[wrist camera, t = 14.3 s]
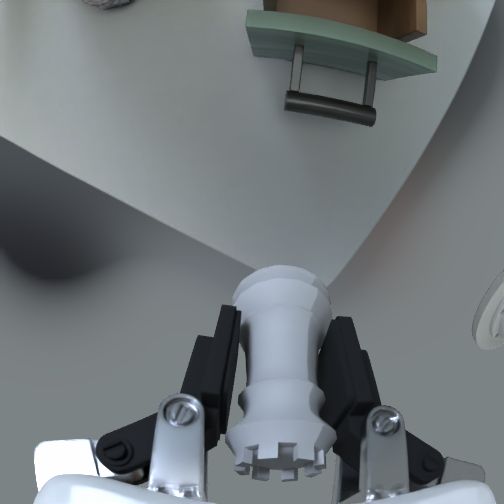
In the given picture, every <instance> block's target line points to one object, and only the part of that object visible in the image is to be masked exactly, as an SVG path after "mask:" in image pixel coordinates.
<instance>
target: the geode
mask: <svg viewBox="0 0 504 504" xmlns="http://www.w3.org/2000/svg"><path fill="white" fill-rule="evenodd" d="M83 1H84V2H85V3H88V4H90V5H95V6H97V7H99V8H101V9H103V10H105V9H109V8H111V7H113V6H119V5H125V4H128V3H129V1H130V0H83Z"/></svg>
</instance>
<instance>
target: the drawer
mask: <svg viewBox="0 0 504 504" xmlns="http://www.w3.org/2000/svg"><path fill="white" fill-rule="evenodd" d="M263 6H264V11H261V10H247V16H246V24H245V27H246V31H247V34H248V38H249V41H250V44H251V48H252V52H253V55H254V56H258V57H269V58H278V59H286V60H293V61H292V70H291V80H290V88H289V91H286V95H285V102H284V111H291V112H298V113H304V114H310V115H316V116H322V117H327V118H333V119H338V120H342V121H347V122H352V123H356V124H361V125H365V126H369V127H372V126H373V125H374V123H375V120H376V110H375V108H373V107H372V106H373V100H374V92H375V83H376V78H377V79H380V80H384V81H386V80H391V79H396V78H402V77H407V76H414V75H420V74H427V73H435V72H436V70H437V56H436V55H434V54H431V53H429V52H427V51H425V50H422V49H420V48H418V47H415V46H413V45H410V44H408V43H406V42H409V41H411V40H414V39H417V38H419V37H422V36H425V35H427V6H426V0H263ZM302 62H306V63H312V64H318V65H323V66H328V67H333V68H338V69H342V70H347V71H351V72H355V73H359V74H363V75H366V78H365V87H364V95H363V103H362V105H361V104H357V103H353V102H348V101H344V100H339V99H334V98H329V97H324V96H319V95H313V94H307V93H301V92H299V88H300V80H301V71H302Z"/></svg>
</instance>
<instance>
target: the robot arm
mask: <svg viewBox="0 0 504 504" xmlns="http://www.w3.org/2000/svg"><path fill="white" fill-rule="evenodd" d="M236 309H237V307H236V306H230V305H222V307H221V311H220V315H219V319H218V322H217V326H216V330H215V334H214V337H207V336H201V335H198V337H197V339H196V342H195V345H194V349H193V352H192V355H191V358H190V362H189V365H188V368H187V372H186V375H185V378H184V381H183V385H182V388H181V391H180V393H177V394H173V395H170V396H168V397H166V398H165V399H164V400H163V401H162V402H161V403H160V406H159V409H158V412H157V413H155V414H153V415H150V416H148V417H146V418H144V419H142V420H139V421H137V422H134V423H132V424H130V425H127V426H125V427H122V428H120V429H118V430H115V431H113V432H110V433H107V434H105V435H104V436H102V437H101V438H100V439H99V440H91V439H79V440H65V441H46V442H42V443H40V444H39V445H38V446H37V447H36V449H35V453H34V459H35V468H36V476H37V484H38V489H39V492H38V494H37V496H36V498H35V500H34V503H33V504H216V503H210V502H208V451H209V450H210V449H212V448H213V447H215V446H217V442H218V440H219V439H220V434H226V431H227V425H228V418H229V412H230V405H231V398H232V391H233V385H234V378H235V372H236V365H237V357H238V346H239V335H240V324H241V313H242V311H240V310H236ZM490 334H491V336H492V337H493V339H495V340H496V341H503V340H504V298H503V299H502V301H501V302H500V304H499V305H498V307H497V309H496V311H495V313H494V315H493V317H492V320H491V324H490ZM317 381H318V388H320V389H321V390H322V391H323V392H324V395H325V399H326V401H325V403H324V405H323V406H322V408H321V410H320V411H319V416H320V418H321V419H322V420H324V421H325V422H326V423H327V424H328V425H329V426H330V427H332V428H333V429H334V430H335V432H336V436H337V440H336V441H335V443H334V444H333V445H332V446H333V452H334V453H335V454H336V464H335V475H334V486H333V495H332V503H331V504H496V501H495V498H494V495H493V493H492V491H491V489H490V488H489V487H488V486H487V485H486V484H484V482H485V471H484V469H483V468H482V467H481V466H480V465H477V464H474V463H469V462H466V461H462V460H458V459H454V458H450V457H446V458H443V457H442V455H441V453H440V452H438V451H437V450H436V449H434V448H432V447H431V446H430V445H428V444H426V443H425V442H423V441H422V440H420V439H419V438H417V437H415V436H414V435H413V434H411V433H409V432H408V431H406V430H405V424H404V419H403V417H402V415H401V414H400V412H399V411H398V410H396V409H395V408H393V407H391V406H386V405H383V406H382V405H381V401H380V397H379V393H378V390H377V385H376V381H375V378H374V374H373V371H372V367H371V363H370V359H369V356H368V353H367V351H366V350H361V348H360V345H359V341H358V338H357V334H356V331H355V327H354V324H353V321H352V318H351V317H342V316H337V317H336V319H335V320H333V319H332V320H331V322H330V324H329V327H328V330H327V333H326V336H325V339H324V342H323V344H322V347H321V350H320V353H319V355H318V370H317ZM147 481H149V483H148V489H145V488H142V487H138V486H134V485H139V484H142V483H145V482H147Z"/></svg>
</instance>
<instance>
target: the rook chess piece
mask: <svg viewBox="0 0 504 504" xmlns="http://www.w3.org/2000/svg"><path fill="white" fill-rule="evenodd" d="M330 305H331V302H330V297H329V293H328V289H327V287H326V286H325V285H324V284H323V282H322V281H321V280H320V279H319V278H318V277H317V275H315V274H313V273H311V272H309V271H307V270H304V269H302V268H300V267H296V266H286V265H275V266H271V267H267V268H263V269H259V270H256V271H255V272H253V273H252V274H251V275H249V276H248V277H246V278H245V279H243V280H242V281H241V282H240V284H239V286H238V288H237V289H236V291H235V293H234V294H233V306H236V307H237V309H236V310H240V311H242V313H241V324H240V335H239V343H240V344H241V347H242V348H243V350H244V352H245V357H246V373H247V383H246V388H245V389H244V390H243V391H242V392H241V393H240V394H239V397H238V405H239V406H240V407H241V409H242V410H243V411H244V416H243V419H242V420H241V421H240V422H239V423H238V424H237V425H236V426H234V427H233V428H232V429H231V430H230V431H229V432H228V433H226V434H225V443H226V444H227V445H228V447H229V448H230V450H231V451H232V452H233V454H234V455H235V457H236V462H235V471H236V472H237V473H238V474H240V475H249V472H250V466H252V467H253V471H252V479H255V480H261V481H267V480H269V470H270V469H274V470H282V482H285V481H297V480H298V468H301V467H305V476H306V477H314V476H316V475H318V474H321V469H325V468H326V456H325V455H326V453H327V452H328V451H329V449H330V448H331V447H332V445H333V444H334V443H335V441H336V440H337V436H336V432H335V430H334V429H333V428H332V427H330V426H329V425H328V424H327V423H326V422H325V421H324V420H322V419H321V418H320V416H319V411H320V410H321V408H322V406H323V405H324V403H325V401H326V399H325V395H324V392H323V391H322V390H321V389H320V388H318V381H317V370H318V353H319V349H320V348H321V347H322V344H323V341H324V339H325V336H326V333H327V330H328V327H329V324H330V322H331V320H332V313H331V308H330Z"/></svg>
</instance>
